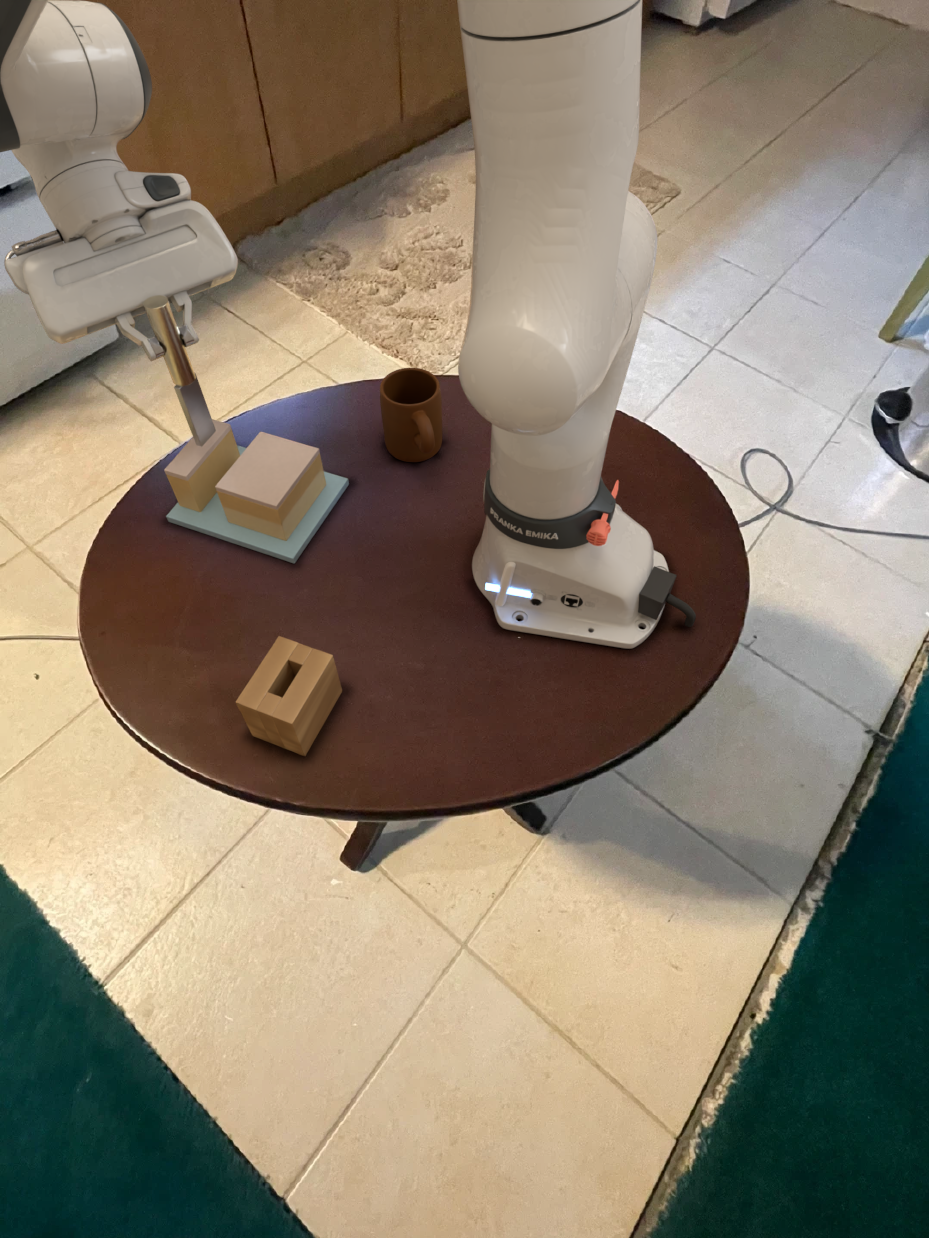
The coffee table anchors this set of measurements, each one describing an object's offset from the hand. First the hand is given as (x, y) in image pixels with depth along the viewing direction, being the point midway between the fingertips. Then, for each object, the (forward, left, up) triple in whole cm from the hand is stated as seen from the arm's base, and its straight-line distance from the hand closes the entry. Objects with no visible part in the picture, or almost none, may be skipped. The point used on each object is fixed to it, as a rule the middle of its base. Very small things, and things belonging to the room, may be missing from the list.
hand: (175, 350), depth 78 cm
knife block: (-23, +24, -21) cm, 39 cm away
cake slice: (+2, 0, -20) cm, 20 cm away
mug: (-19, -15, -21) cm, 32 cm away
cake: (-5, 0, -21) cm, 22 cm away
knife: (0, 0, -12) cm, 12 cm away
